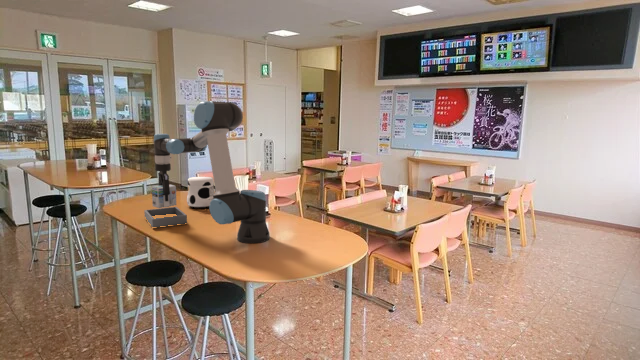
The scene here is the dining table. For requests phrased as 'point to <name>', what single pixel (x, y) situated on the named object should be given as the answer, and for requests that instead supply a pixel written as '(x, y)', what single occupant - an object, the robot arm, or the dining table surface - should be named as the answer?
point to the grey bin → (165, 221)
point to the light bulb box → (158, 197)
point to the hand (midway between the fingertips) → (164, 205)
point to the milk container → (200, 191)
